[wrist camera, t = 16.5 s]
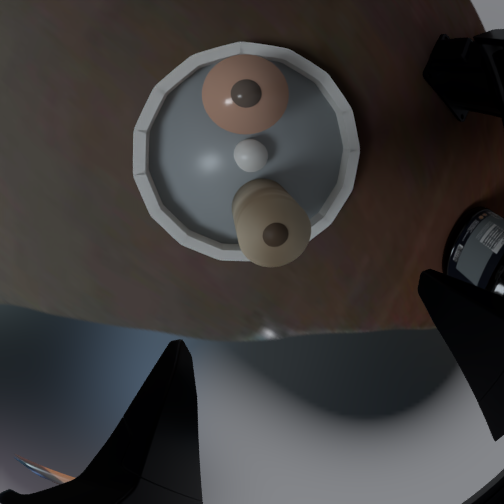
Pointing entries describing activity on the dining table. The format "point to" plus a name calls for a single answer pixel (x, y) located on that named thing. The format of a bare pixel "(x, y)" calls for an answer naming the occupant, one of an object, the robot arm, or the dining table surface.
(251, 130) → the terracotta bead
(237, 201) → the maple bead
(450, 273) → the supplement container
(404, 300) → the dining table surface
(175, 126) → the ring tray
